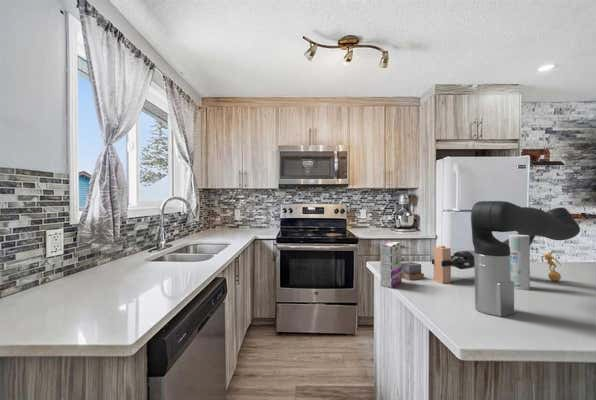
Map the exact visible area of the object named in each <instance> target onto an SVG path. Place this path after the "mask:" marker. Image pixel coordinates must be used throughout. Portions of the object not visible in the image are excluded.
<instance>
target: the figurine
mask: <svg viewBox="0 0 596 400" xmlns="http://www.w3.org/2000/svg"><path fill="white" fill-rule="evenodd" d="M552 255H553V253H552V251H549V252H548V253H545V254H543V255H541V256H540V257H541V261H542V263H544V262H545V260H544V258H545V259H546V263H547V264H548V265H549V267H548V268H549V270H550V272H549V273H548V274H547V275H548V279H549V280H551V281H553V282H558V281H560V280H561V279H562V276H561V274H560V273H559V272H557V271H556V270H555V269H556V267H557V264H559V265H560V267H562V264H561V262H559V260H557V258H555V257H554V256H552ZM552 260H554V261H555V262H556V263H557V264H556V263H555V262H554V261H552Z"/></svg>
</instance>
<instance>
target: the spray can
mask: <svg viewBox="0 0 596 400" xmlns="http://www.w3.org/2000/svg"><path fill="white" fill-rule="evenodd" d="M508 239H509V247H510V279H511V281H513V282H514V290H522V291H523V290H525V291H528V290H530V289H531V279H530V278H531V269H530V268H531V264H530V263H531V259H530V257H531V256H530V255H531V251H530V250H531V249H530V248H531V245H530V236H528V235H516V234H509V235H508Z"/></svg>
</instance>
